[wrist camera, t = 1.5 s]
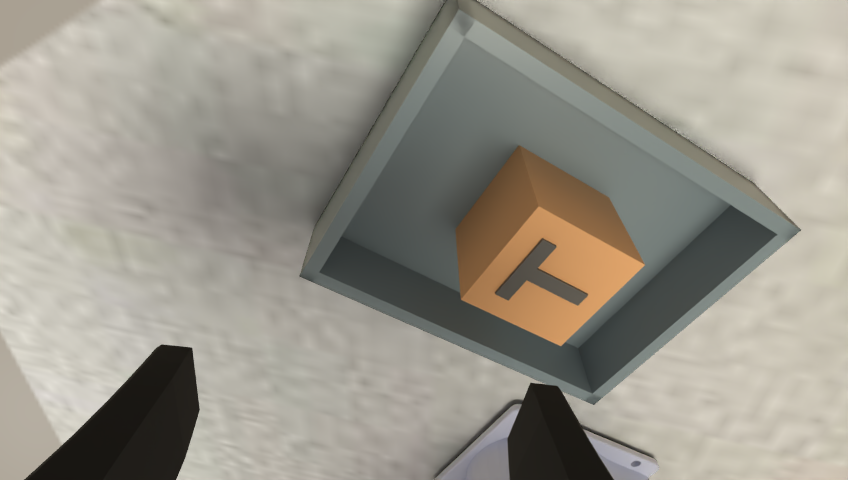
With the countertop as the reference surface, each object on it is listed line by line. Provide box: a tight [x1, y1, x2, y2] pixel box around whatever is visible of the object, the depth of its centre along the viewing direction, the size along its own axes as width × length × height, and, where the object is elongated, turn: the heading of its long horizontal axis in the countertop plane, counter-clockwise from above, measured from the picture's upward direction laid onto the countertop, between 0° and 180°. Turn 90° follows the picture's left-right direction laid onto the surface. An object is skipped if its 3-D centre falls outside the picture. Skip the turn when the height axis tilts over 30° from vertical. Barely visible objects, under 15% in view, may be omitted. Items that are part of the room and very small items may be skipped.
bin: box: [300, 0, 801, 405], centre depth 19 cm, size 13×10×3 cm
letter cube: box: [455, 145, 645, 346], centre depth 19 cm, size 4×4×4 cm
